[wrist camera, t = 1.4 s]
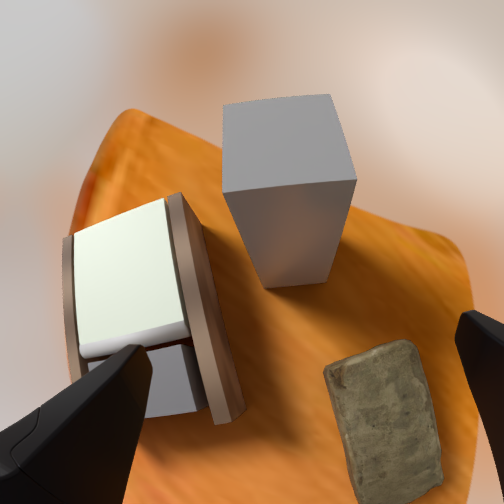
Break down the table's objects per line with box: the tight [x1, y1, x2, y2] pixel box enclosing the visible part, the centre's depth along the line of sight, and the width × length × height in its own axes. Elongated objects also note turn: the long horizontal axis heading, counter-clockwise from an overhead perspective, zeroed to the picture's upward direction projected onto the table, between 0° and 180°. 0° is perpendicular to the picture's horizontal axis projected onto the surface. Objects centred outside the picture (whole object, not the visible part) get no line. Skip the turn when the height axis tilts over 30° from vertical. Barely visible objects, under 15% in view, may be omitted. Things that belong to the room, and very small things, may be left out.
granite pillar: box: [222, 94, 357, 289], centre depth 17 cm, size 5×5×13 cm
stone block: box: [323, 339, 444, 504], centre depth 15 cm, size 6×12×5 cm, turn 15°
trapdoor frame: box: [62, 192, 247, 425], centre depth 20 cm, size 15×11×5 cm
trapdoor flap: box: [74, 198, 209, 418], centre depth 19 cm, size 14×8×4 cm, turn 15°
